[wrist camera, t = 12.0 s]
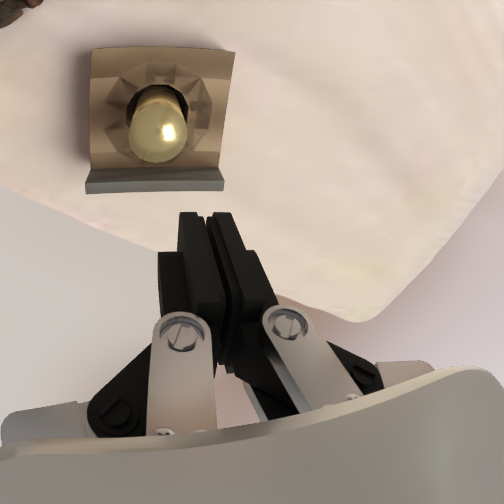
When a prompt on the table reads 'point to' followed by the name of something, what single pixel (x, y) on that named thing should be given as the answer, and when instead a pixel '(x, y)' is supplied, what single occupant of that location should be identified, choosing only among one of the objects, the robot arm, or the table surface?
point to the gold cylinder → (157, 126)
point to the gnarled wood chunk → (14, 10)
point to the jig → (118, 119)
